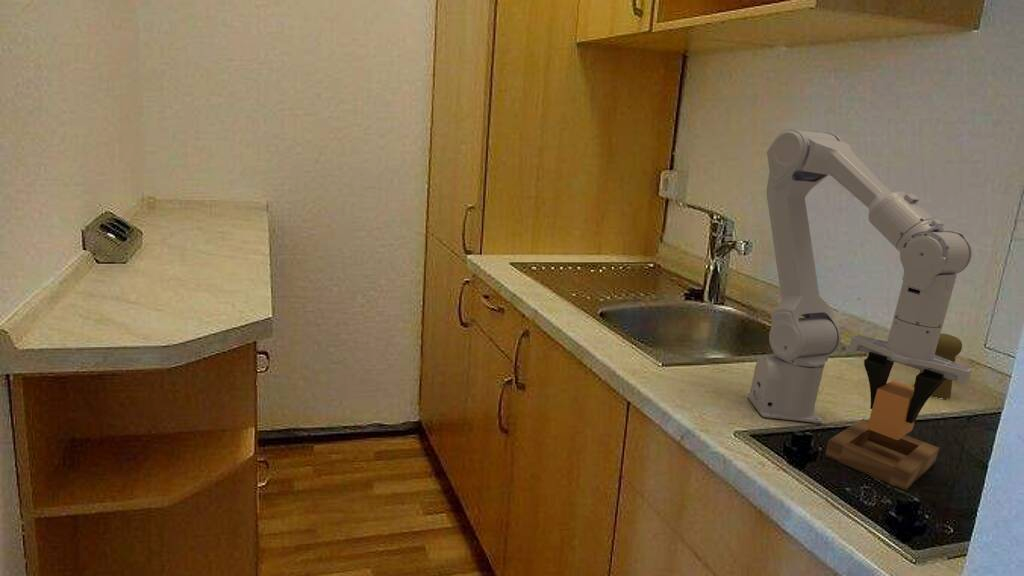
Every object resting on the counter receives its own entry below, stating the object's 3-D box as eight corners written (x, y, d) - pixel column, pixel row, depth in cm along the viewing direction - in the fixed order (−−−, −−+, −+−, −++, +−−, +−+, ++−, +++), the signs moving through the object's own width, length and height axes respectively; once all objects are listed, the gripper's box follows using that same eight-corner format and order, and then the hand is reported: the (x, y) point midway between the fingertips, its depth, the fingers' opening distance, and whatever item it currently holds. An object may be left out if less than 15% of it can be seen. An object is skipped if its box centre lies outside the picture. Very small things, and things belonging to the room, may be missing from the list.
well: (905, 490, 90) (910, 473, 89) (824, 456, 97) (828, 439, 97) (934, 463, 99) (939, 447, 98) (858, 433, 106) (862, 418, 105)
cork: (916, 382, 131) (931, 327, 128) (952, 393, 128) (969, 337, 125) (909, 390, 127) (925, 333, 124) (947, 402, 123) (964, 343, 120)
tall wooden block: (897, 440, 94) (909, 399, 92) (866, 428, 96) (877, 388, 95) (912, 430, 98) (923, 390, 96) (882, 418, 101) (892, 380, 99)
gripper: (850, 309, 95) (828, 401, 98) (971, 342, 85) (942, 443, 88) (869, 303, 100) (848, 390, 103) (986, 333, 90) (957, 429, 93)
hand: (892, 414), depth 96 cm, fingers closed on tall wooden block, 4 cm apart
